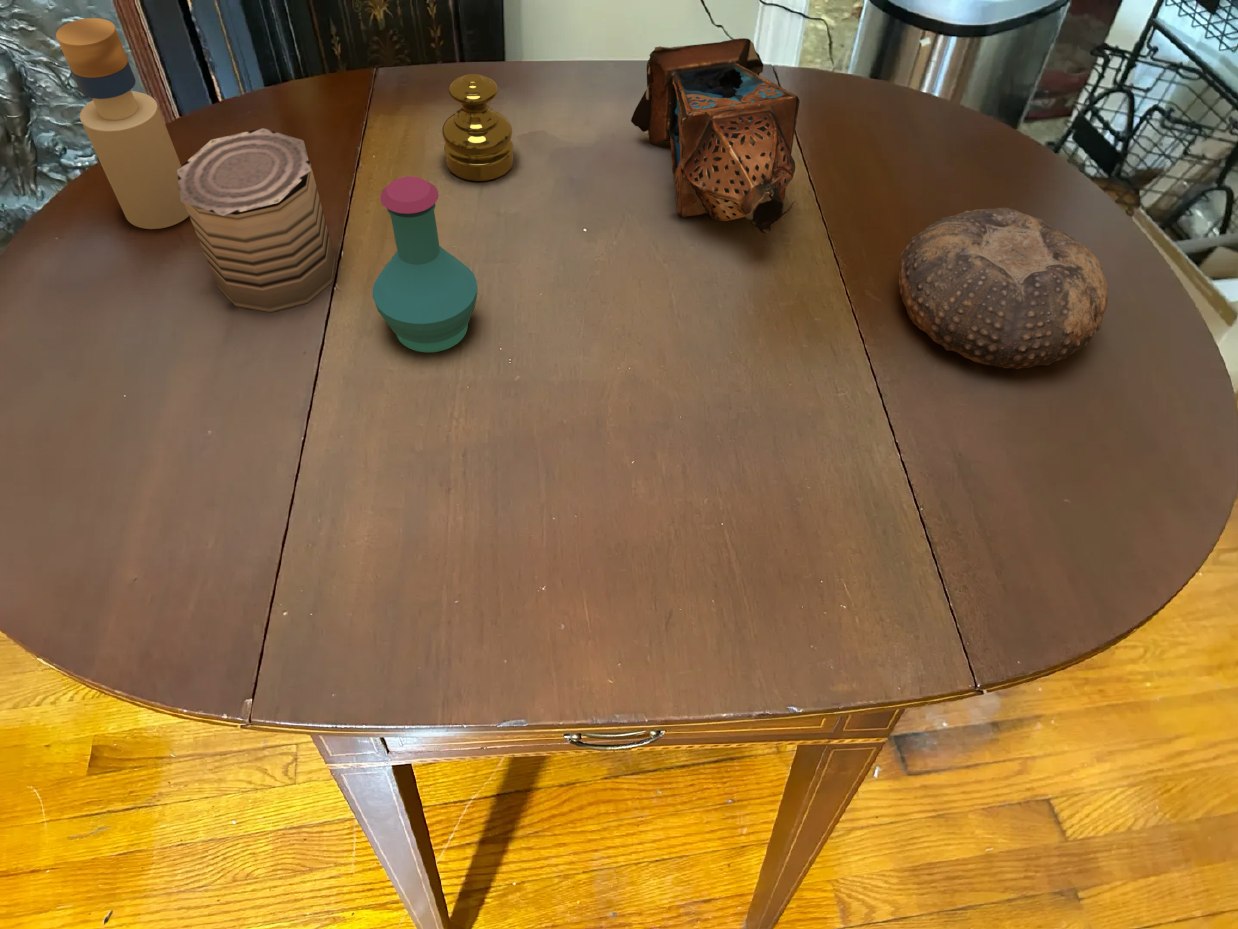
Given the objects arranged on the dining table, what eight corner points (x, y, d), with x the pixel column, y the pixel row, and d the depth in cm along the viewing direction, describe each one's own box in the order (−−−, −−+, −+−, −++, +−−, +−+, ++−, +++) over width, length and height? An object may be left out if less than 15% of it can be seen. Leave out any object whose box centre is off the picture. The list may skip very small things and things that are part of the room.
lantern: (676, 181, 111) (748, 309, 95) (592, 93, 99) (658, 221, 84) (784, 86, 105) (880, 205, 89) (708, -19, 94) (802, 96, 78)
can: (350, 295, 87) (322, 187, 77) (227, 325, 84) (183, 217, 74) (322, 225, 93) (294, 117, 84) (207, 251, 90) (164, 142, 80)
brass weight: (498, 189, 98) (491, 102, 90) (435, 174, 99) (423, 88, 91) (523, 152, 102) (519, 67, 94) (462, 138, 104) (453, 53, 96)
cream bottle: (155, 237, 91) (90, 92, 79) (111, 212, 93) (41, 67, 81) (209, 204, 94) (155, 60, 82) (165, 181, 97) (106, 37, 84)
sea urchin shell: (1065, 412, 80) (1095, 323, 73) (862, 355, 88) (870, 269, 81) (1118, 292, 90) (1148, 203, 82) (930, 250, 98) (942, 166, 91)
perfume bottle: (363, 348, 82) (328, 209, 71) (407, 285, 88) (381, 146, 76) (457, 372, 81) (437, 235, 69) (496, 306, 86) (484, 169, 75)
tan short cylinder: (93, 83, 79) (79, 50, 77) (59, 66, 81) (43, 33, 79) (139, 61, 82) (126, 28, 80) (105, 45, 84) (91, 12, 81)
